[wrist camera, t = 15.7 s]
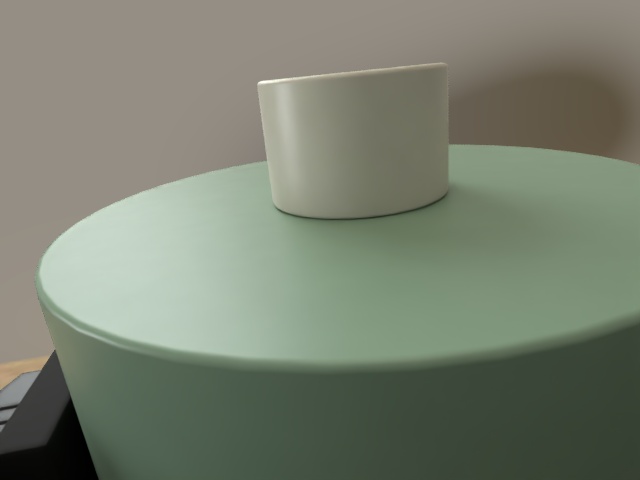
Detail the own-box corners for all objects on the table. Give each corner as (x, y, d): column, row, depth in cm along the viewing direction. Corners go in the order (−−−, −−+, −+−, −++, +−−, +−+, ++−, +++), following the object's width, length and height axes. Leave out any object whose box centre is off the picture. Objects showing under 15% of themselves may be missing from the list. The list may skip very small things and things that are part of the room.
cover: (511, 426, 16) (531, 53, 12) (788, 931, 7) (1315, -24, 3) (224, 449, 16) (149, 92, 12) (94, 965, 7) (-408, 151, 3)
